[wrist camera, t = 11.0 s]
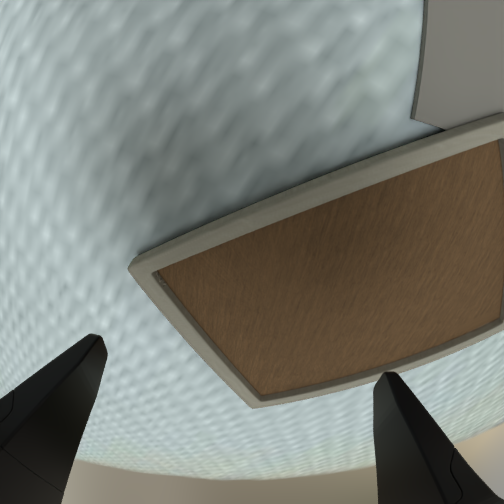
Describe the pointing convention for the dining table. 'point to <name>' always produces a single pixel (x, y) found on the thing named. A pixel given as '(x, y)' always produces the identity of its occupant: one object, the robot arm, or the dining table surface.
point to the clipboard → (345, 271)
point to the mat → (460, 62)
